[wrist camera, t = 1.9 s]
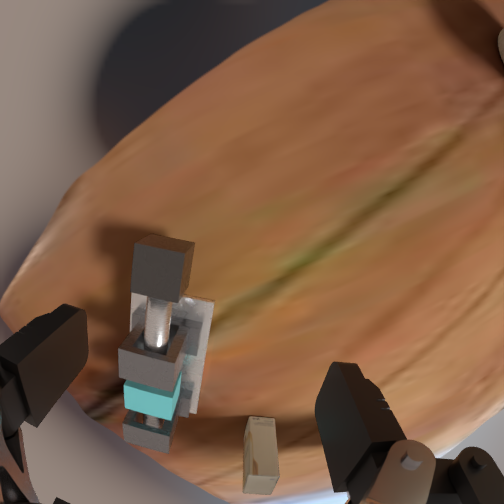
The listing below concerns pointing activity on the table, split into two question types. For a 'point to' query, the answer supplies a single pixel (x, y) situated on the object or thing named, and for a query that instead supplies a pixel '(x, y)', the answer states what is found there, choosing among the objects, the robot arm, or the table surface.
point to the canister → (501, 44)
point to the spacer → (151, 399)
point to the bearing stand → (166, 365)
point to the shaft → (160, 289)
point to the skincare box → (260, 456)
